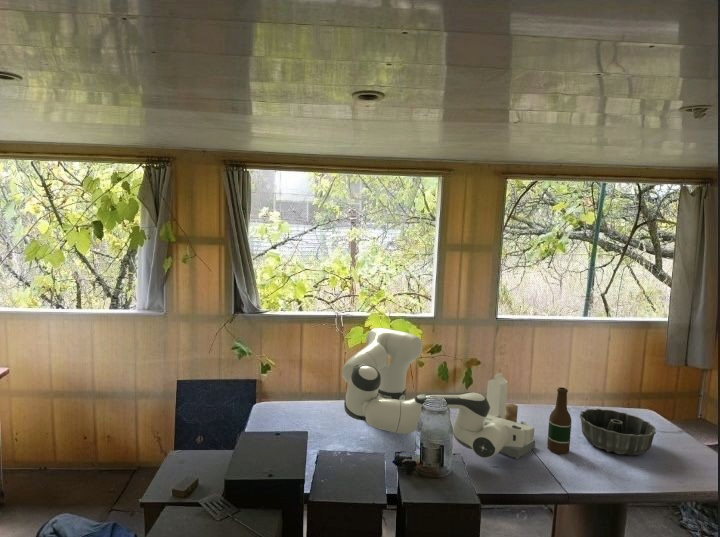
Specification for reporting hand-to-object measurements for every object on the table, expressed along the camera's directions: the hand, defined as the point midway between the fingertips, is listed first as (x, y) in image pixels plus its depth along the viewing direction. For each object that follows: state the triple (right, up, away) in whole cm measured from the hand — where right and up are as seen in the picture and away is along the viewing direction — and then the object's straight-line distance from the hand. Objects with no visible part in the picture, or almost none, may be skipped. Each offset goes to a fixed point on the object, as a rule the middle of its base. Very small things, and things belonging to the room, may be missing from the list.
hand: (511, 420), depth 181 cm
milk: (0, -9, +20) cm, 22 cm away
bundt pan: (+42, -12, +5) cm, 44 cm away
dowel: (-1, -10, 0) cm, 10 cm away
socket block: (-1, -10, 0) cm, 10 cm away
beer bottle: (+17, -11, -2) cm, 20 cm away
